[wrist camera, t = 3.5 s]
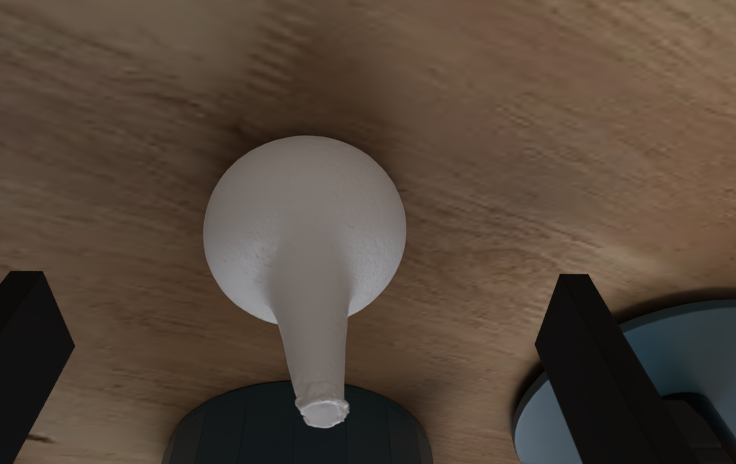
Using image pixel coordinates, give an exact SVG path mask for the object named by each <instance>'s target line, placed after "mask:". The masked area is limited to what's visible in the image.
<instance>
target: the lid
mask: <svg viewBox="0 0 736 464" xmlns="http://www.w3.org/2000/svg"><path fill="white" fill-rule="evenodd" d="M618 326H619V327H620V329H621V331H622V332H623V334H624V336H625V337H626V339H627V341H628V342H629V344H630V346H631V347H632V349H633V351H634V352H635V354H636V356H637V358H638V359H639V361H640V363H641V364H642V366H643V368H644V369H645V371H646V373H647V374H648V376H649V378H650V379H651V381H652V383H653V384H654V386H655V388H656V389H657V391H658V393H659V395H660V396H661V398H662V400H684V401H685V402H686V403H687V404H689V405H690V406H691V407H692V408H693V409H694V410H695V411H696V412H697V413H698V414H699V415H701V416H702V417H703V418H704V419H705V420H706V421H707V423H708V424H709V426H710V428H711V429H712V431H713V432H714V434H715V435H716V437H717V438H718V440H719V441H720V443H721V448H722V449H725V451H726V452H727V454H728V455H729V457H730V458H731V460H732V461H733V463H734V464H736V299H726V300H710V301H703V302H696V303H689V304H684V305H680V306H675V307H671V308H666V309H662V310H659V311H656V312H653V313H649V314H646V315H643V316H640V317H637V318H634V319H632V320H629V321H627V322H624V323H622V324H619V325H618ZM512 439H513V444H514V447H515V451H516V453H517V455H518V457H519V459H520V461H521V463H522V464H582V461H581V459H580V456H579V454H578V451H577V449H576V446H575V444H574V441H573V439H572V436H571V434H570V431H569V429H568V426H567V424H566V421H565V419H564V416H563V414H562V411H561V409H560V406H559V404H558V401H557V399H556V396H555V394H554V391H553V389H552V386H551V384H550V381H549V379H548V376H547V374H546V371H544V372H543V373H542V374H541V375H540V376H539V377H538V379H537V380H536V381H535V382H534V383H533V384H532V385H531V386H530V388H529V389H528V391H527V392H526V393H525V395H524V396H523V398H522V399H521V401H520V403H519V405H518V407H517V410H516V412H515V415H514V419H513V423H512Z"/></svg>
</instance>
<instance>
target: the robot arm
mask: <svg viewBox="0 0 736 464" xmlns="http://www.w3.org/2000/svg"><path fill="white" fill-rule="evenodd" d="M535 347H536V349H537V352H538V354H539V356H540V359H541V361H542V364H543V366H544V369H545V371H546V374H547V376H548V379H549V381H550V384H551V386H552V389H553V391H554V394H555V396H556V399H557V401H558V404H559V406H560V409H561V411H562V414H563V416H564V419H565V421H566V424H567V426H568V429H569V431H570V434H571V436H572V439H573V441H574V444H575V446H576V449H577V451H578V454H579V456H580V459H581V461H582V464H734V463H733V461H732V460H731V458H730V457H729V455H728V454H727V452H726V451H725V449H722V448H721V443H720V441H719V440H718V438H717V437H716V435H715V434H714V432H713V431H712V429H711V428H710V426H709V424H708V423H707V421H706V420H705V419H704V418H703V417H702V416H701V415H699V414H698V413H697V412H696V411H695V410H694V409H693V408H692V407H691V406H690V405H689V404H687V403H686V402H685V401H684V400H662V398H661V396H660V395H659V393H658V391H657V389H656V388H655V386H654V384H653V383H652V381H651V379H650V378H649V376H648V374H647V373H646V371H645V369H644V368H643V366H642V364H641V363H640V361H639V359H638V358H637V356H636V354H635V352H634V351H633V349H632V347H631V346H630V344H629V342H628V341H627V339H626V337H625V336H624V334H623V332H622V331H621V329H620V327H619V326H618V324H617V322H616V321H615V319H614V317H613V315H612V314H611V312H610V310H609V309H608V307H607V305H606V304H605V302H604V300H603V299H602V297H601V295H600V294H599V292H598V290H597V289H596V287H595V285H594V284H593V282H592V280H591V278H590V277H589V275H588V274H560V275H559V278H558V281H557V283H556V286H555V289H554V292H553V295H552V297H551V300H550V303H549V306H548V309H547V311H546V314H545V317H544V320H543V323H542V325H541V328H540V331H539V334H538V337H537V339H536V342H535ZM74 348H75V345H74V343H73V340H72V338H71V336H70V333H69V331H68V329H67V326H66V324H65V322H64V319H63V317H62V315H61V312H60V310H59V308H58V305H57V303H56V301H55V298H54V296H53V294H52V291H51V289H50V287H49V284H48V282H47V280H46V277H45V275H44V273H43V271H10V272H9V273H8V275H7V276H6V277H5V279H4V280H3V281H2V282H1V284H0V464H13V462H14V460H15V458H16V457H17V455H18V453H19V451H20V449H21V447H22V445H23V443H24V442H25V440H26V438H27V436H28V434H29V432H30V430H31V428H32V426H33V425H34V423H35V421H36V419H37V417H38V415H39V413H40V411H41V410H42V408H43V406H44V404H45V402H46V400H47V398H48V396H49V395H50V393H51V391H52V389H53V387H54V385H55V383H56V381H57V379H58V378H59V376H60V374H61V372H62V370H63V368H64V366H65V364H66V363H67V361H68V359H69V357H70V355H71V353H72V351H73V349H74Z"/></svg>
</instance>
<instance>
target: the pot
mask: <svg viewBox="0 0 736 464" xmlns="http://www.w3.org/2000/svg"><path fill="white" fill-rule="evenodd" d="M296 399H297V397H296V394H295V392H294V388H293V385H292V381H287V382H274V383H267V384H260V385H255V386H251V387H246V388H242V389H238V390H235V391H232V392H230V393H227V394H224V395H221V396H219V397H217V398H215V399H212V400H210V401H208V402H206V403H205V404H203V405H201V406H200V407H198V408H197V409H195V410H194V411H193V412H191V413H190V414H189V415H188V416H186V417H185V418H184V419H183V420H182V422H181V423H180V424H179V425H178V426H177V427H176V429H175V431H174V432H173V434H172V436H171V438H170V441H169V445H168V447H167V449H166V450H165V452H164V456H163V459H162V463H161V464H433V458H432V452H431V446H430V445H429V441H428V438H427V436H426V433H425V431H424V429H423V428H422V426H421V425H420V423H419V422H418V421H417V420H416V419H415V418H414V417H413V416H412V415H411V414H410V413H409V412H408V411H406V410H405V409H404V408H402V407H401V406H400V405H398V404H396V403H394V402H393V401H391V400H389V399H387V398H385V397H383V396H380V395H378V394H375V393H373V392H370V391H366V390H363V389H360V388H356V387H352V386H347V385H344V400H346V401H347V403H348V404H349V406H348V407H349V408H350V409H348V410H349V413H348V414H347V416H346V418H344V422H342V421H341V422H340V423H338V424H335V425H334V426H332V427H330V428H320V427H313V426H309V425H307V424H306V422H305V420H304V419H303V417H304V415H302V414H301V411H300V410H299V409H298V407H297V406H296V405H295V400H296Z"/></svg>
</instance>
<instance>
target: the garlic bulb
mask: <svg viewBox="0 0 736 464" xmlns="http://www.w3.org/2000/svg"><path fill="white" fill-rule="evenodd" d="M405 241H406V218H405V212H404V207H403V204H402V201H401V199H400V196H399V194H398V191H397V189H396V187H395V185H394V183H393V182H392V180H391V178H390V177H389V176H388V174H387V173H386V172H385V171H384V170H383V168H382V167H380V166H379V165H378V164H377V163H376V161H374V160H373V159H372V158H371V157H370V156H368V155H367V154H365V153H364V152H362V151H361V150H359V149H358V148H356V147H353V146H351V145H349V144H347V143H345V142H341V141H339V140H335V139H331V138H327V137H321V136H306V135H303V136H293V137H287V138H283V139H278V140H275V141H271V142H269V143H265V144H264V145H262V146H259V147H257V148H255V149H253V150H251V151H249V152H248V153H247V154H245V155H243V156H242V157H241V158H240V159H238V160H237V161H236V162H235V163H234V164H233V165H232V166H231V167H230V168H229V169H228V170H227V171H226V172H225V173H224V175H223V176H222V177H221V179H220V180H219V182H218V184H217V185H216V187H215V189H214V190H213V193H212V195H211V197H210V200H209V203H208V206H207V210H206V213H205V218H204V225H203V243H204V251H205V256H206V260H207V263H208V266H209V268H210V270H211V272H212V274H213V277H214V278H215V280H216V282H217V283H218V285H219V286H220V288H221V289H222V291H223V292H224V293H225V294H226V296H227V297H228V298H229V299H230V300H231V301H232V302H234V303H235V304H236V305H237V306H239V307H240V308H242V309H243V310H245V311H246V312H248V313H250V314H251V315H254V316H256V317H257V318H259V319H262V320H264V321H267V322H271V323H274V324H278V327H279V330H280V333H281V337H282V342H283V346H284V350H285V356H286V360H287V365H288V369H289V373H290V377H291V381H292V385H293V388H294V392H295V394H296V397H297V399H296V400H295V405H296V406H297V407H298V409H299V410H300V411H301V414H302V415H304V417H303V419H304V420H305V422H306V424H307V425H309V426H313V427H320V428H330V427H332V426H334V425H335V424H338V423H340V422H341V421H342V422H344V418H346V416H347V414H348V413H349V410H348V409H350V408H349V407H348V406H349V404H348V403H347V401H346V400H344V375H345V349H346V334H347V321H348V317H349V316H351V315H353V314H355V313H357V312H358V311H360V310H362V309H363V308H365V307H366V306H367V305H368V304H370V303H371V302H372V301H373V300H374V299H376V298H377V297H378V296H379V295H380V294H381V292H382V291H383V290H384V289H385V288H386V287H387V285H388V284H389V282H390V281H391V279H392V278H393V276H394V274H395V272H396V271H397V268H398V266H399V264H400V261H401V258H402V255H403V251H404V247H405Z"/></svg>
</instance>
